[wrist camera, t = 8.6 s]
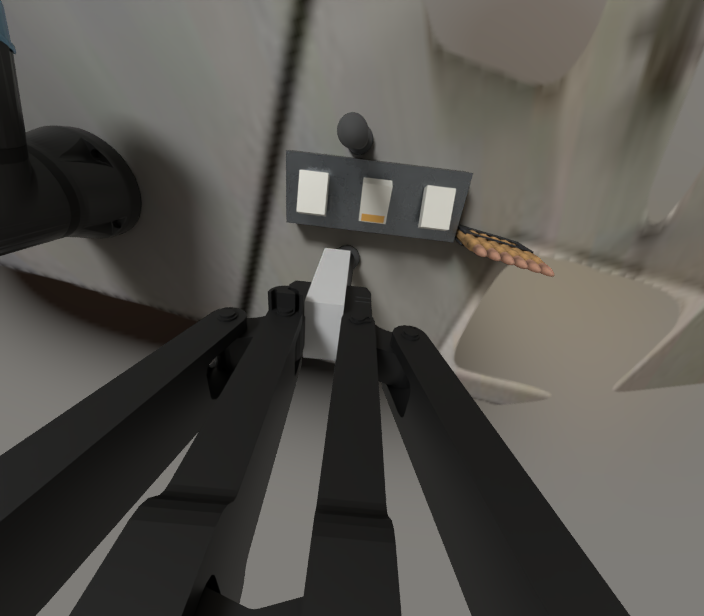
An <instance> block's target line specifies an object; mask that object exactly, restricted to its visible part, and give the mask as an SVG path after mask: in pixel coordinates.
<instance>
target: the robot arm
mask: <svg viewBox="0 0 704 616" xmlns="http://www.w3.org/2000/svg"><path fill="white" fill-rule="evenodd" d="M13 54H16V49H15V46H14V45H13V44H12V43H11V40H10V35H9V30H8V26H7V21H6V16H5V11H4V7H3V4H2V2H1V0H0V256H2V255H6V254H9V253H12V252H16V251H19V250H23V249H26V248H29V247H33V246H36V245H40V244H43V243H47V242H50V241H54V240H57V239H60V238H64V237H80V238H109V237H113V236H116V235H119V234H122V233H125V232H127V231H128V230H130V229H131V228H132V227H133V226H134V225H135V224H136V222H137V220H138V218H139V215H140V211H141V197H140V192H139V188H138V185H137V182H136V180H135V178H134V176H133V174H132V172H131V170H130V169H129V167H128V166H127V164H126V163H125V161H124V160H123V159H122V158H121V156H120V155H119V154H118V153H117V152H116V151H115V150H114V149H113V148H112V147H111V146H110V145H108V144H107V143H106V142H105V141H103V140H102V139H100V138H99V137H97V136H95V135H94V134H92V133H90V132H87V131H85V130H82V129H79V128H75V127H66V126H43V127H39V128H36V129H34V130H31V131H28V132H26V133H25V126H24V120H23V114H22V107H21V101H20V94H19V88H18V81H17V75H16V69H15V62H14V56H13ZM350 252H351V251H348V250H339V249H331V248H325V249H324V252H323V254H322V257H321V260H320V262H319V265H318V267H317V270H316V273H315V275H314V278H313V281H312V282H305V281H295V282H293V283H291V284H290V285H289V286H277V287H274V288H271V289H270V290H269V291H268V305H269V311H268V312H267V314H266V316H263V317H257V318H247V316H246V313H245V311H244V310H241V309H239V308H233V307H229V308H228V307H226V308H222V309H218V310H216V311H214V312H212V313H210V314H209V315H207V316H206V317H204V318H203V319H202V320H200V321H199V322H197V323H196V324H194V325H193V326H191V327H190V328H188V329H187V330H185V331H184V332H182V333H181V334H179V335H178V336H176V337H175V338H174V339H172V340H171V341H169V342H168V343H166V344H165V345H163V346H162V347H160V348H159V349H157V350H156V351H154V352H153V353H152V354H150V355H148V356H147V357H145V358H144V359H143V360H141V361H140V362H138V363H137V364H135V365H134V366H132V367H131V368H129V369H128V370H126V371H125V372H123V373H122V374H120V375H119V376H117V377H116V378H114V379H113V380H111V381H110V382H109V383H107V384H106V385H104V386H103V387H101V388H100V389H98V390H97V391H95V392H94V393H92V394H91V395H89V396H88V397H86V398H85V399H83V400H82V401H80V402H79V403H78V404H76V405H75V406H73V407H72V408H70V409H69V410H67V411H66V412H64V413H63V414H61V415H60V416H58V417H57V418H55V419H54V420H53V421H51V422H50V423H48V424H46V425H45V426H44V427H42V428H41V429H39V430H38V431H36V432H35V433H33V434H32V435H30V436H29V437H27V438H26V439H24V440H23V441H21V442H20V443H18V444H17V445H16V446H14V447H13V448H11V449H10V450H8V451H7V452H5V453H4V454H2V455H1V456H0V616H36V614H37V613H38V612H39V611H40V610H41V609H42V608H43V607H44V606H45V605H46V604H47V603H48V602H49V600H50V599H51V598H52V597H53V596H54V595H55V594H56V593H57V591H58V590H59V589H60V588H61V587H62V586H63V585H64V583H65V582H66V581H67V580H68V579H69V578H70V577H71V576H72V574H73V573H74V572H75V571H76V570H77V569H78V568H79V566H80V565H81V564H82V563H83V562H84V561H85V560H86V559H87V557H88V556H89V555H90V554H91V553H92V552H93V551H94V549H95V548H96V547H97V546H98V545H99V544H100V542H101V541H102V540H103V539H104V538H105V537H106V536H107V535H108V534H109V532H110V531H111V530H112V529H113V528H114V527H115V526H116V525H117V523H118V522H119V521H120V520H121V519H122V518H123V516H124V515H125V514H126V513H127V512H128V511H129V510H130V509H131V508H132V506H133V505H134V504H135V503H136V502H137V501H138V500H139V498H140V497H141V496H142V495H143V494H144V493H145V492H146V491H147V489H148V488H149V487H150V486H151V485H152V484H153V483H154V482H155V480H156V479H157V478H158V477H159V476H160V475H161V473H162V472H163V471H164V470H165V469H166V468H167V467H168V466H169V464H170V463H171V462H172V461H173V460H174V459H175V458H176V457H177V455H178V454H179V453H180V452H181V451H182V450H183V449H184V448H185V446H186V445H187V444H188V443H189V442H190V441H191V440H192V439H193V437H194V436H195V435H196V434H197V433H198V434H197V436H196V438H195V439H194V441H193V443H192V445H191V446H190V448H189V450H188V452H187V453H186V455H185V457H184V458H183V460H182V462H181V464H180V466H179V467H178V469H177V471H176V473H175V474H174V476H173V478H172V479H171V481H170V483H169V484H168V486H167V487H166V489H165V490H164V491H163V492H162V493H161V494H160V495H158V496H154V497H151V498H148V499H147V500H146V501H145V502H143V503H142V504H141V505H140V506H139V507H138V509H137V510H136V511H135V513H134V514H133V515H132V517H131V518H130V519H129V521H128V522H127V524H126V526H125V527H124V529H123V530H122V532H121V534H120V535H119V537H118V539H117V540H116V542H115V543H114V545H113V547H112V548H111V550H110V551H109V553H108V554H107V556H106V558H105V559H104V561H103V563H102V564H101V566H100V567H99V569H98V570H97V572H96V574H95V575H94V577H93V578H92V580H91V582H90V583H89V585H88V586H87V588H86V590H85V591H84V593H83V594H82V596H81V598H80V599H79V601H78V602H77V604H76V606H75V607H74V609H73V610H72V612H71V614H70V615H69V616H401V605H400V592H399V580H398V568H397V555H396V544H395V535H394V528H393V524H392V520H391V519H390V518H389V517H388V514H387V507H386V494H385V479H384V463H383V446H382V432H381V431H382V430H381V414H380V399H379V383H378V381H379V382H382V389H383V391H384V393H385V396H386V399H387V401H388V404H389V406H390V409H391V411H392V414H393V417H394V419H395V422H396V424H397V427H398V429H399V432H400V434H401V437H402V439H403V442H404V444H405V447H406V450H407V452H408V454H409V457H410V460H411V462H412V465H413V467H414V470H415V473H416V475H417V478H418V480H419V483H420V485H421V488H422V490H423V493H424V495H425V498H426V501H427V503H428V506H429V508H430V510H431V513H432V516H433V518H434V521H435V523H436V526H437V529H438V531H439V534H440V536H441V539H442V541H443V544H444V546H445V549H446V551H447V554H448V557H449V559H450V562H451V564H452V567H453V569H454V572H455V574H456V577H457V579H458V582H459V585H460V587H461V590H462V592H463V595H464V597H465V600H466V602H467V605H468V608H469V610H470V612H471V615H472V616H630V615H629V614H628V612H627V611H626V610H625V608H624V607H623V605H622V604H621V602H620V601H619V600H618V599H617V597H616V596H615V594H614V593H613V592H612V590H611V589H610V587H609V586H608V585H607V583H606V582H605V580H604V579H603V578H602V576H601V575H600V574H599V572H598V571H597V569H596V568H595V567H594V565H593V564H592V562H591V561H590V560H589V558H588V557H587V556H586V554H585V553H584V552H583V550H582V549H581V547H580V546H579V545H578V543H577V542H576V541H575V539H574V538H573V536H572V535H571V533H570V532H569V531H568V529H567V528H566V527H565V525H564V524H563V522H562V521H561V520H560V518H559V517H558V516H557V514H556V513H555V511H554V510H553V509H552V507H551V506H550V504H549V503H548V502H547V500H546V499H545V498H544V496H543V495H542V494H541V492H540V491H539V489H538V488H537V487H536V485H535V484H534V483H533V481H532V480H531V478H530V477H529V476H528V474H527V473H526V471H525V470H524V469H523V467H522V466H521V464H520V463H519V462H518V460H517V459H516V458H515V456H514V455H513V454H512V452H511V451H510V449H509V448H508V447H507V445H506V444H505V442H504V441H503V440H502V438H501V437H500V435H499V434H498V433H497V431H496V430H495V429H494V427H493V426H492V424H491V423H490V422H489V420H488V419H487V418H486V416H485V415H484V413H483V412H482V411H481V409H480V408H479V406H478V405H477V404H476V402H475V401H474V400H473V398H472V397H471V395H470V394H469V393H468V391H467V390H466V389H465V387H464V386H463V384H462V383H461V382H460V380H459V379H458V378H457V376H456V375H455V373H454V372H453V371H452V369H451V368H450V366H449V365H448V364H447V362H446V361H445V360H444V358H443V357H442V355H441V354H440V353H439V351H438V350H437V349H436V347H435V346H434V344H433V343H432V342H431V340H430V339H429V337H428V336H427V335H426V334H425V333H424V332H423V331H422V330H420V329H418V328H416V327H413V326H406V325H403V326H398V327H396V328H394V330H393V332H389V331H386V330H384V329H381V328H379V327H378V326H377V325H375V321H374V319H373V317H372V309H371V293H370V291H369V290H368V289H367V288H365V287H356V286H347V279H348V270H349V261H350ZM302 352H303V357H306V358H316V359H325V360H335V361H336V363H335V370H334V379H333V385H332V393H331V400H330V401H331V402H330V408H329V415H328V423H327V431H326V438H325V446H324V454H323V461H322V468H321V476H320V484H319V491H318V499H317V506H316V511H315V517H314V523H313V531H312V538H311V545H310V553H309V560H308V568H307V575H306V582H305V590H304V597H300V598H296V599H293V600H289V601H285V602H282V603H278V604H274V605H271V606H267V607H263V608H260V609H249V608H246V607H244V606H243V605H240V604H239V603H240V598H241V594H242V589H243V584H244V576H245V568H246V562H247V558H248V554H249V550H250V547H251V543H252V539H253V536H254V532H255V529H256V525H257V522H258V518H259V514H260V511H261V507H262V504H263V500H264V497H265V493H266V489H267V486H268V482H269V479H270V475H271V471H272V468H273V464H274V461H275V457H276V454H277V450H278V446H279V443H280V439H281V436H282V432H283V429H284V425H285V421H286V418H287V414H288V411H289V407H290V403H291V400H292V396H293V392H294V389H295V386H296V382H297V378H298V375H299V371H300V368H301V356H302ZM213 359H215V361H214V362H213V363H212V364H211V365H209V364H210V363H211V362H212V360H213Z"/></svg>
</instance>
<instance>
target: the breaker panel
mask: <svg viewBox="0 0 704 616" xmlns="http://www.w3.org/2000/svg"><path fill="white" fill-rule="evenodd" d="M299 170H308V171H316V172H324V173H329V176H330V180H329V190H328V201H327V211H326V217H325V216H317V215H309V214H301V213H298V212H296V210H297V197H298V184H299ZM472 175H473V173H469V172H465V171H457V170H449V169H441V168H433V167H425V166H416V165H408V164H400V163H392V162H384V161H376V160H368V159H359V158H351V157H343V156H335V155H327V154H319V153H310V152H302V151H294V150H286V215H287V222H289V223H297V224H306V225H314V226H322V227H330V228H339V229H347V230H355V231H363V232H372V233H380V234H388V235H397V236H405V237H413V238H421V239H430V240H438V241H446V242H453V241H454V238H455V234H456V231H457V228H458V224H459V221H460V217H461V214H462V210H463V207H464V203H465V200H466V196H467V193H468V189H469V186H470V182H471V179H472ZM364 177H366V178H375V179H383V180H391V181H392V185H393V187H392V192H391V198H390V203H389V208H388V213H387V219H386V224H380V223H372V222H364V221H359V213H360V204H361V196H362V187H363V179H364ZM427 185H431V186H439V187H447V188H455V189H456V193H455V198H454V204H453V210H452V215H451V221H450V226H449V230H446V231H441V230H433V229H424V228H418V224H419V218H420V212H421V205H422V199H423V193H424V188H425V187H426V186H427Z"/></svg>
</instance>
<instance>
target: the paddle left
mask: <svg viewBox="0 0 704 616" xmlns="http://www.w3.org/2000/svg"><path fill="white" fill-rule="evenodd" d="M329 180H330V176H329V173H324V172H316V171H308V170H299V184H298V197H297V210H296V212H298V213H301V214H309V215H317V216H325V217H326V211H327V201H328V190H329Z"/></svg>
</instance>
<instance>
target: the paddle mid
mask: <svg viewBox="0 0 704 616" xmlns="http://www.w3.org/2000/svg"><path fill="white" fill-rule="evenodd" d="M392 187H393V185H392V181H391V180H383V179H375V178H366V177H364V179H363V187H362V196H361V204H360V213H359V221H364V222H372V223H380V224H386V219H387V213H388V208H389V203H390V198H391V192H392Z"/></svg>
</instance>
